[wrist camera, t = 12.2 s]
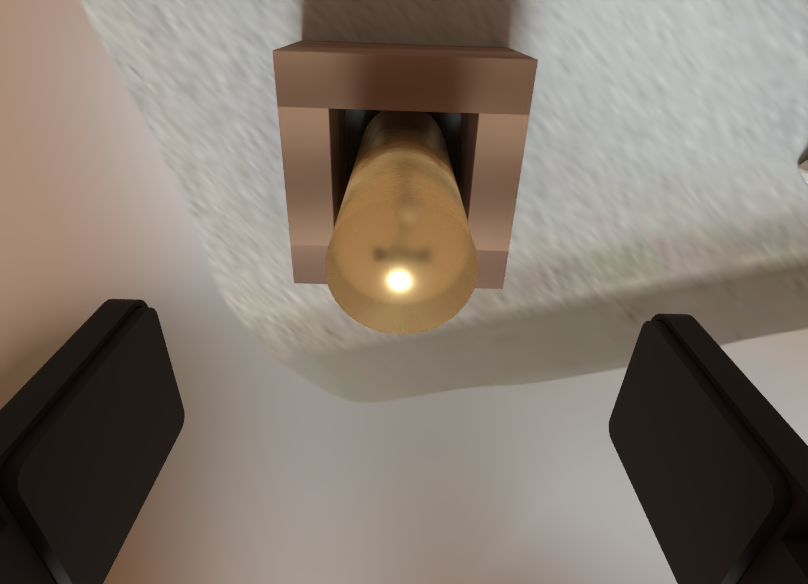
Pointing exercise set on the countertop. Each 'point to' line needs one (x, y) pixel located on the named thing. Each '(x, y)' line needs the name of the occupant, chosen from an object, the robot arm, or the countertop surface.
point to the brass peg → (402, 230)
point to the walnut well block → (401, 91)
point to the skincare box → (804, 170)
